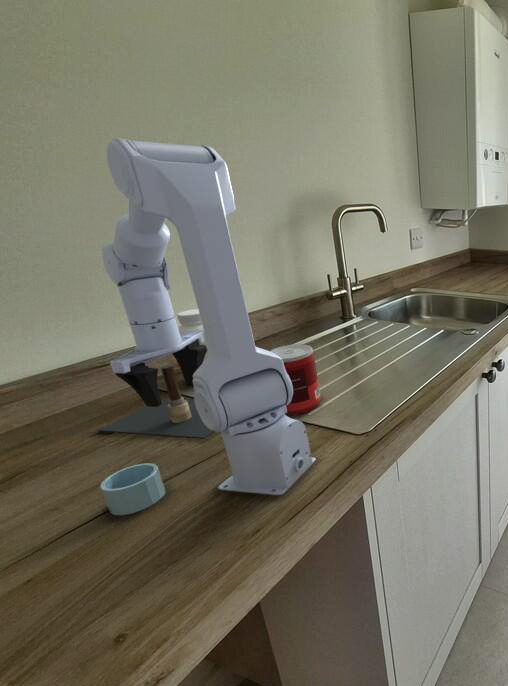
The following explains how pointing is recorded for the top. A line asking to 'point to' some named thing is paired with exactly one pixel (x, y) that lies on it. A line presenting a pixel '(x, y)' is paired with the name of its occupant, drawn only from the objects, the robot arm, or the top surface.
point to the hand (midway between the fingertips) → (175, 395)
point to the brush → (175, 397)
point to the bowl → (133, 489)
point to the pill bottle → (192, 325)
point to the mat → (160, 423)
